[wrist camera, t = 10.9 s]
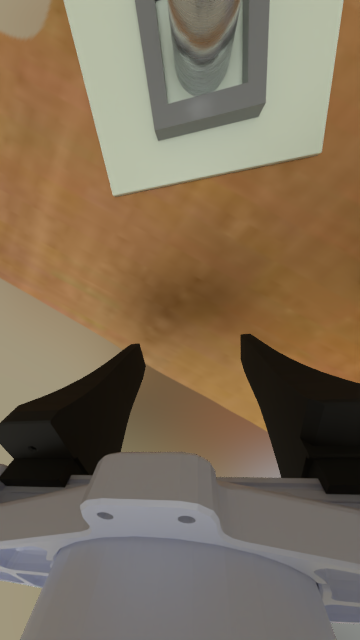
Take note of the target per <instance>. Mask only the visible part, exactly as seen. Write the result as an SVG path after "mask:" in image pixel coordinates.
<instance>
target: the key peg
mask: <svg viewBox="0 0 360 640" xmlns="http://www.w3.org/2000/svg"><path fill="white" fill-rule="evenodd" d="M241 1H242V0H167V3H168V12H169V20H170V29H171V37H172V46H173V55H174V63H175V70H176V74H177V77H178V80H179V82H180V84H181V85H182V87H183V88H184V89H185V90H186V91H187V92H188V93H189V94H191V95H193V96H199V95H203V94H207V93H211V92H213V91H215V90H216V89H217V88H218V87H219V85H220V84H221V82H222V81H223V79H224V77H225V75H226V72H227V70H228V66H229V62H230V57H231V52H232V47H233V42H234V37H235V32H236V26H237V21H238V16H239V11H240V6H241Z"/></svg>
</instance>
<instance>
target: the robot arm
mask: <svg viewBox="0 0 360 640" xmlns="http://www.w3.org/2000/svg"><path fill="white" fill-rule="evenodd" d="M241 362H242V365H243V369H244V372H245V374H246V377H247V379H248V381H249V383H250V386H251V388H252V390H253V392H254V395H255V397H256V399H257V401H258V404H259V406H260V409H261V412H262V415H263V418H264V421H265V424H266V427H267V430H268V434H269V437H270V440H271V443H272V447H273V450H274V453H275V456H276V460H277V463H278V467H279V470H280V474H281V478H248V477H245V478H244V477H216V474H215V470H214V468H213V467H212V465H211V463H210V462H209V461H208V460H206V459H205V458H203V457H201V456H199V455H197V454H192V453H186V452H121V448H122V443H123V439H124V435H125V430H126V426H127V423H128V419H129V415H130V412H131V409H132V406H133V403H134V401H135V398H136V395H137V393H138V390H139V388H140V385H141V382H142V379H143V376H144V371H145V367H146V365H145V362H144V358H143V355H142V351H141V348H140V344H131V345H129V346H128V347H127V348H125V349H124V350H123V351H121V352H120V353H119V354H117V355H116V356H115V357H113V358H112V359H111V360H109V361H108V362H107V363H105V364H104V365H102V366H101V367H99V368H98V369H96V370H95V371H93V372H92V373H90V374H89V375H87V376H85V377H83V378H82V379H80V380H78V381H76V382H74V383H72V384H70V385H68V386H66V387H64V388H62V389H60V390H58V391H55V392H53V393H51V394H48V395H46V396H43V397H41V398H38V399H35V400H32V401H30V402H27V403H25V404H21V405H19V406H18V407H17V408H15V410H13V411H12V412H11V413H10V414H9V415H8V416H7V417H6V418H5V419H4V420H3V421H2V422H1V423H0V444H1V445H2V446H3V447H4V449H5V450H6V451H7V452H8V453H9V454H10V455H11V456H12V457H13V458H14V460H13V461H12V462H11V463H10V464H9V466H6V465H4V464H0V580H1V581H7V582H12V583H18V584H24V585H28V586H34V587H40V588H42V590H41V593H40V595H39V597H38V600H37V602H36V604H35V607H34V609H33V611H32V613H31V616H30V618H29V620H28V623H27V625H26V627H25V629H24V632H23V634H22V636H21V639H20V640H336V637H335V634H334V632H333V629H332V626H331V623H349V624H360V383H356V382H352V381H348V380H345V379H342V378H339V377H335V376H332V375H329V374H326V373H324V372H321V371H318V370H316V369H313V368H310V367H308V366H306V365H303V364H301V363H299V362H297V361H295V360H292V359H290V358H288V357H286V356H285V355H283V354H281V353H279V352H277V351H276V350H274V349H272V348H271V347H269V346H268V345H266V344H265V343H263V342H262V341H260V340H259V339H257V338H256V337H254V336H253V335H251V334H242V335H241Z"/></svg>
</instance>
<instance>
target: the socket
mask: <svg viewBox="0 0 360 640" xmlns="http://www.w3.org/2000/svg"><path fill="white" fill-rule="evenodd" d="M64 4H65V8H66V12H67V16H68V20H69V23H70V27H71V31H72V35H73V39H74V43H75V47H76V51H77V55H78V59H79V63H80V67H81V71H82V75H83V79H84V83H85V87H86V91H87V95H88V99H89V102H90V106H91V110H92V114H93V118H94V122H95V126H96V130H97V134H98V138H99V142H100V146H101V150H102V154H103V158H104V162H105V166H106V170H107V174H108V178H109V181H110V185H111V189H112V193H113V196H115V197H117V196H122V195H127V194H132V193H137V192H141V191H146V190H151V189H156V188H161V187H166V186H171V185H175V184H180V183H185V182H190V181H195V180H200V179H205V178H209V177H214V176H219V175H224V174H229V173H234V172H239V171H243V170H248V169H253V168H258V167H263V166H268V165H273V164H277V163H282V162H287V161H292V160H297V159H302V158H307V157H311V156H316V155H319V154H320V153H322V146H323V139H324V132H325V125H326V118H327V111H328V104H329V97H330V90H331V84H332V77H333V70H334V63H335V56H336V49H337V42H338V35H339V28H340V21H341V14H342V7H343V0H242V1H241V6H240V11H239V16H238V21H237V26H236V32H235V37H234V42H233V47H232V52H231V57H230V62H229V66H228V70H227V72H226V75H225V77H224V79H223V81H222V82H221V84H220V85H219V87H218V88H217V89H216V90H215V91H213V92H211V93H207V94H203V95H199V96H193V95H191V94H189V93H188V92H187V91H186V90H185V89H184V88H183V87H182V85H181V84H180V82H179V80H178V77H177V74H176V70H175V63H174V55H173V46H172V37H171V29H170V20H169V12H168V3H167V0H64Z"/></svg>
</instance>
